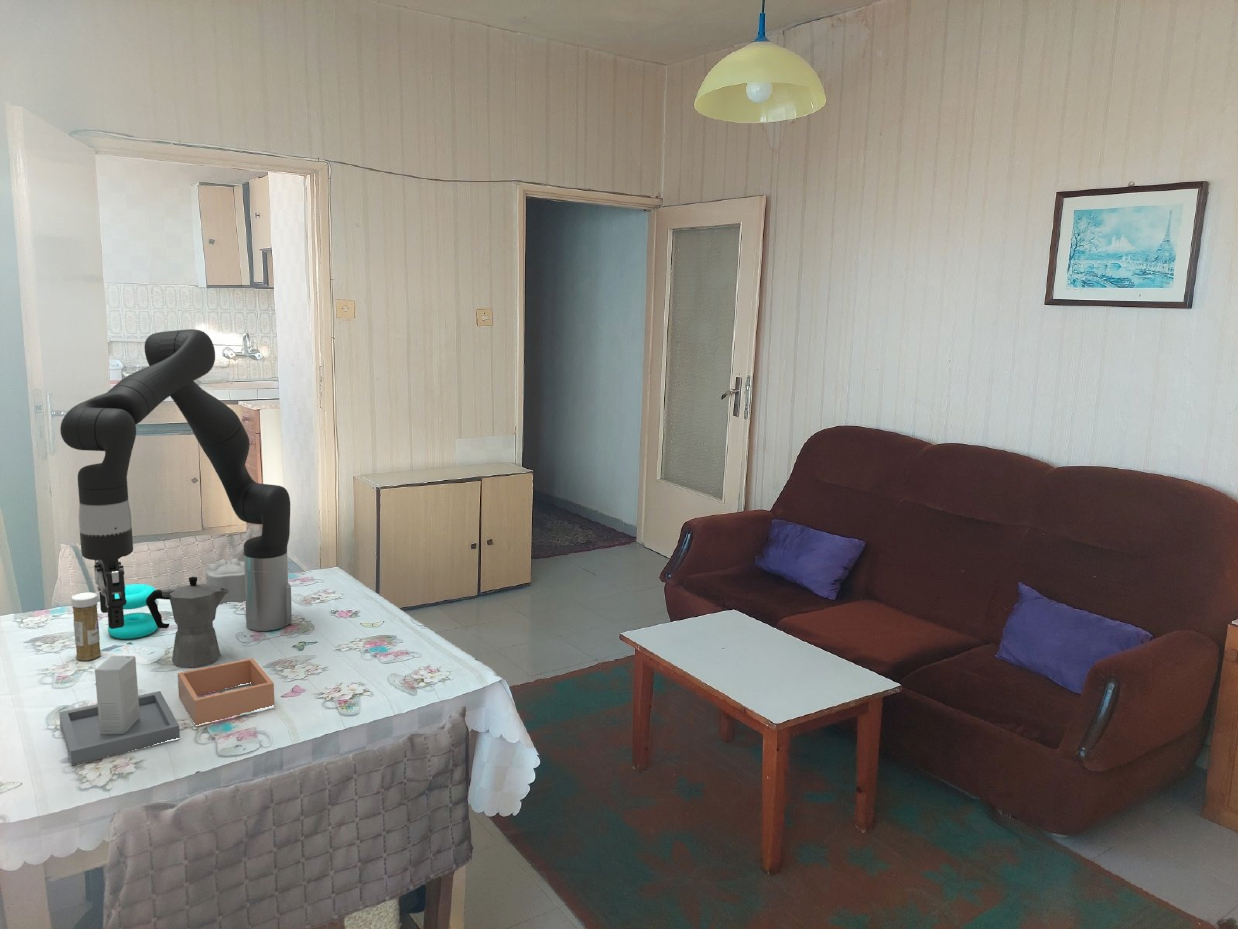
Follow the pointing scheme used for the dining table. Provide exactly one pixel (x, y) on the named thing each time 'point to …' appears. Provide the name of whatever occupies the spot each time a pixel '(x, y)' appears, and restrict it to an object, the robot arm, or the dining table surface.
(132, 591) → the donuts
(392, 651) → the dining table surface
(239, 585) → the lumpy-topped squat cylinder
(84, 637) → the sprinkles bottle
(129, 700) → the skincare box
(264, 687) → the orange square frame
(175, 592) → the coffeepot
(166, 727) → the grey tray
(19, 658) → the dining table surface
